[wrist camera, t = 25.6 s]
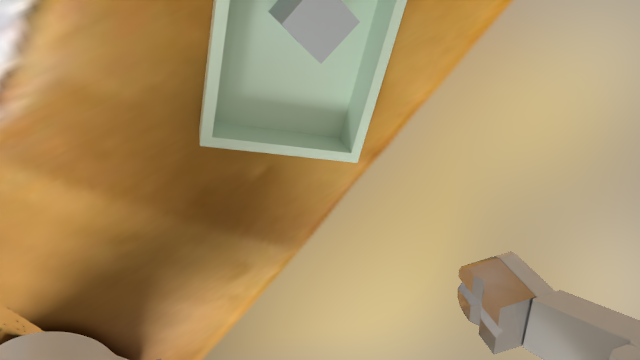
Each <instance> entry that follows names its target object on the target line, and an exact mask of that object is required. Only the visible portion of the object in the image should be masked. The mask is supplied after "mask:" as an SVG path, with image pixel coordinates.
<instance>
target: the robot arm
mask: <svg viewBox="0 0 640 360" xmlns="http://www.w3.org/2000/svg"><path fill="white" fill-rule="evenodd" d="M459 278H460V279H461V280H462V283H461V285H460V286H459V287H458V300H459V304H460V306H461V309H462V311H463V313H464V314H465V316H466V317H467V319H468V320H469V321H470V322H472V323H474V324H476V325H479V335H480V337H481V338H482V339H483V341H484V342H485V343H486V345H487V346H488V347H489V349H490V350H491V351H492V353H493V354H497V353H500V352H503V351H506V350H509V349H513V348H516V347H519V346H522V345H523V348H525V349H526V350H528V351H530V352H532V353H533V354H535V355H536V356H538V357H540V358H541V359H543V360H640V320H637V319H635V318H632V317H629V316H627V315H624V314H622V313H619V312H616V311H614V310H611V309H609V308H606V307H603V306H601V305H598V304H595V303H593V302H590V301H587V300H585V299H582V298H580V297H577V296H574V295H572V294H569V293H566V292H564V291H561V290H559V291H554V290H553V289H552V288H551V287H550V286H549V285H548V284H547V283H546V282H545V281H544V280H543V279H542V278H541V277H540V276H539V275H538V274H537V273H535V272H534V271H533V270H532V269H531V268H530V267H529V266H528V265H527V264H526V263H525V262H524V261H523V260H522V259H521V258H520V257H519V256H518V255H516V254H515V253H513V252H508V253H504V254H501V255H497V256H494V257H490V258H487V259H484V260H480V261H477V262H474V263H471V264H468V265H465V266H462V267H461V268H460V270H459ZM0 360H128V359H126V358H123V357H120V356H117V355H115V354H114V353H113V352H112V351H110V350H109V349H108V348H107V347H106V346H104V345H103V344H102V343H100V342H98V341H96V340H94V339H92V338H89V337H87V336H83V335H80V334H75V333H69V332H55V331H53V332H38V333H32V334H27V335H23V336H20V337H17V338H14V339H11V340H9V341H7V342H5V343H3V344H1V345H0ZM157 360H161V359H157Z"/></svg>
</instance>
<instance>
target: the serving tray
mask: <svg viewBox="0 0 640 360" xmlns="http://www.w3.org/2000/svg"><path fill="white" fill-rule="evenodd" d="M277 1H278V0H213V9H212V18H211V27H210V36H209V45H208V54H207V62H206V71H205V80H204V89H203V98H202V107H201V116H200V125H199V139H200V146H205V147H215V148H224V149H233V150H243V151H252V152H261V153H270V154H280V155H289V156H298V157H308V158H317V159H326V160H336V161H345V162H354V163H358V159H359V156H360V153H361V150H362V146H363V143H364V140H365V137H366V133H367V130H368V127H369V123H370V120H371V117H372V114H373V110H374V107H375V104H376V101H377V97H378V94H379V91H380V88H381V84H382V81H383V78H384V74H385V71H386V68H387V65H388V61H389V58H390V55H391V52H392V48H393V45H394V42H395V39H396V35H397V32H398V29H399V25H400V22H401V19H402V16H403V12H404V9H405V6H406V3H407V0H342V1H343V3H344V4H345V5H346V6H347V7H348V9H349V10H350V11H351V12H352V13H353V14H354V16H355V17H356V18H357V19H358V20H359V21H360V23H359V24H358V25H357V26H356V27H355V28H354V29H353V30H352V31H351V32H350V33H349V34H348V36H347V37H346V38H345V39H344V40H343V41H342V42H341V43H340V44H339V45H338V46H337V47H336V48H335V50H334V51H333V52H332V53H331V54H330V55H329V56H328V57H327V58H326V59H325V60H324V61H323V62H322V64H321V63H320V62H319V61H317V60H316V59H315V58H314V57H313V56H312V55H311V54H310V53H309V52H308V51H307V50H306V49H305V48H304V47H303V46H302V45H301V44H300V43H299V42H298V41H297V40H296V39H295V38H294V37H293V36H292V35H291V34H290V33H289V32H288V31H287V30H286V29H285V28H284V27H283V26H282V25H281V24H280V23H279V22H278V21H277V20H276V19H275V18H274V17H273V16H272V15H271V14H270V13H269V12H268V11H269V10H270V9H271V8H272V7H273V5H274V4H275V3H276V2H277Z"/></svg>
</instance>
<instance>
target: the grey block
mask: <svg viewBox="0 0 640 360" xmlns="http://www.w3.org/2000/svg"><path fill="white" fill-rule="evenodd" d="M268 12H269V13H270V14H271V15H272V16H273V17H274V18H275V19H276V20H277V21H278V22H279V23H280V24H281V25H282V26H283V27H284V28H285V29H286V30H287V31H288V32H289V33H290V34H291V35H292V36H293V37H294V38H295V39H296V40H297V41H298V42H299V43H300V44H301V45H302V46H303V47H304V48H305V49H306V50H307V51H308V52H309V53H310V54H311V55H312V56H313V57H314V58H315V59H316V60H317V61H319V62H320V63H321V64H322V62H323V61H324V60H325V59H326V58H327V57H328V56H329V55H330V54H331V53H332V52H333V51H334V50H335V48H336V47H337V46H338V45H339V44H340V43H341V42H342V41H343V40H344V39H345V38H346V37H347V36H348V34H349V33H350V32H351V31H352V30H353V29H354V28H355V27H356V26H357V25H358V24H359V23H360V21H359V20H358V19H357V18H356V17H355V16H354V14H353V13H352V12H351V11H350V10H349V9H348V7H347V6H346V5H345V4H344V3H343V1H342V0H278V1H277V2H276V3H275V4H274V5H273V7H272V8H271V9H270V10H269V11H268Z"/></svg>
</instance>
